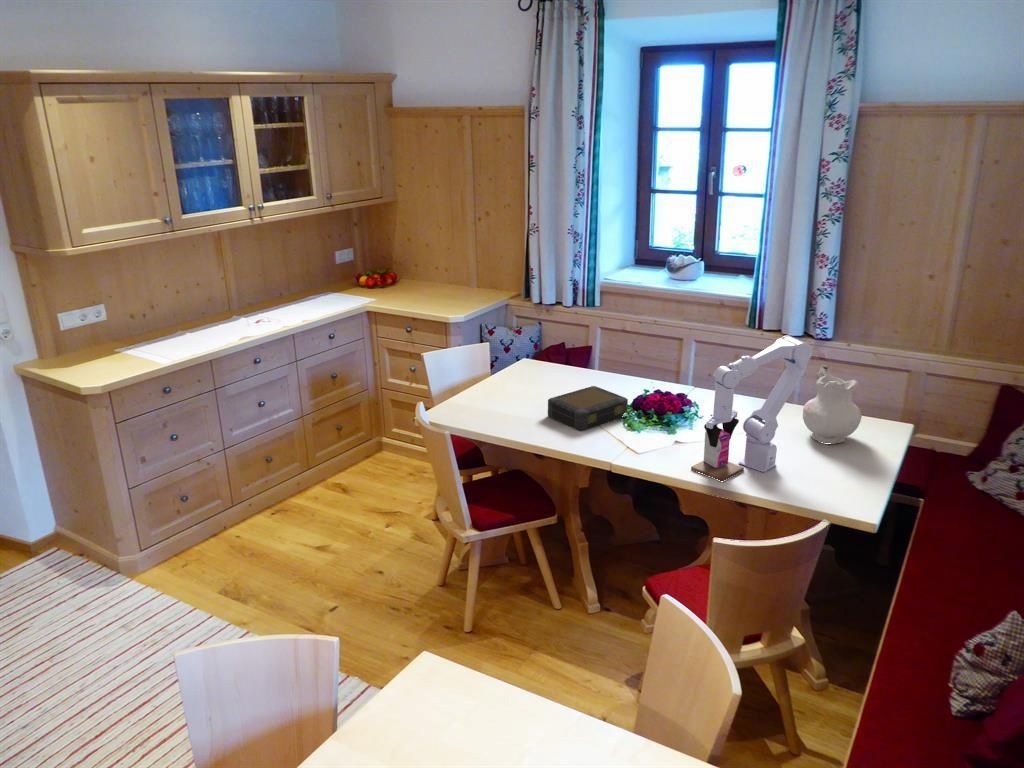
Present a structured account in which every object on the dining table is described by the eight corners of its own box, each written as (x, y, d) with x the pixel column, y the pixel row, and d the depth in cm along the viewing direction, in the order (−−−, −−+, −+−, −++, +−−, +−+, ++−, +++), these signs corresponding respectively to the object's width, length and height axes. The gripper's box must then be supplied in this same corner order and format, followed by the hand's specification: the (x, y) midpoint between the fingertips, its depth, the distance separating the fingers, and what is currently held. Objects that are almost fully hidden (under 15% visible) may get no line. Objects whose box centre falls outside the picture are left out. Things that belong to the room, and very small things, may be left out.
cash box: (592, 402, 318) (592, 384, 315) (628, 417, 303) (629, 398, 300) (544, 416, 303) (545, 398, 301) (580, 433, 288) (581, 413, 286)
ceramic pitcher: (785, 431, 291) (789, 368, 282) (830, 421, 296) (835, 358, 287) (824, 454, 272) (829, 387, 263) (871, 443, 277) (877, 377, 268)
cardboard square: (743, 473, 257) (744, 467, 257) (722, 484, 250) (722, 478, 249) (712, 461, 266) (712, 456, 265) (690, 472, 259) (691, 466, 258)
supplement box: (715, 469, 256) (716, 437, 251) (703, 462, 260) (704, 431, 256) (729, 464, 258) (730, 432, 254) (716, 458, 263) (717, 426, 259)
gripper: (725, 395, 257) (721, 433, 262) (699, 406, 248) (696, 445, 253) (744, 400, 253) (740, 439, 257) (718, 412, 243) (715, 452, 248)
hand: (719, 442), depth 255 cm, fingers open, 7 cm apart
